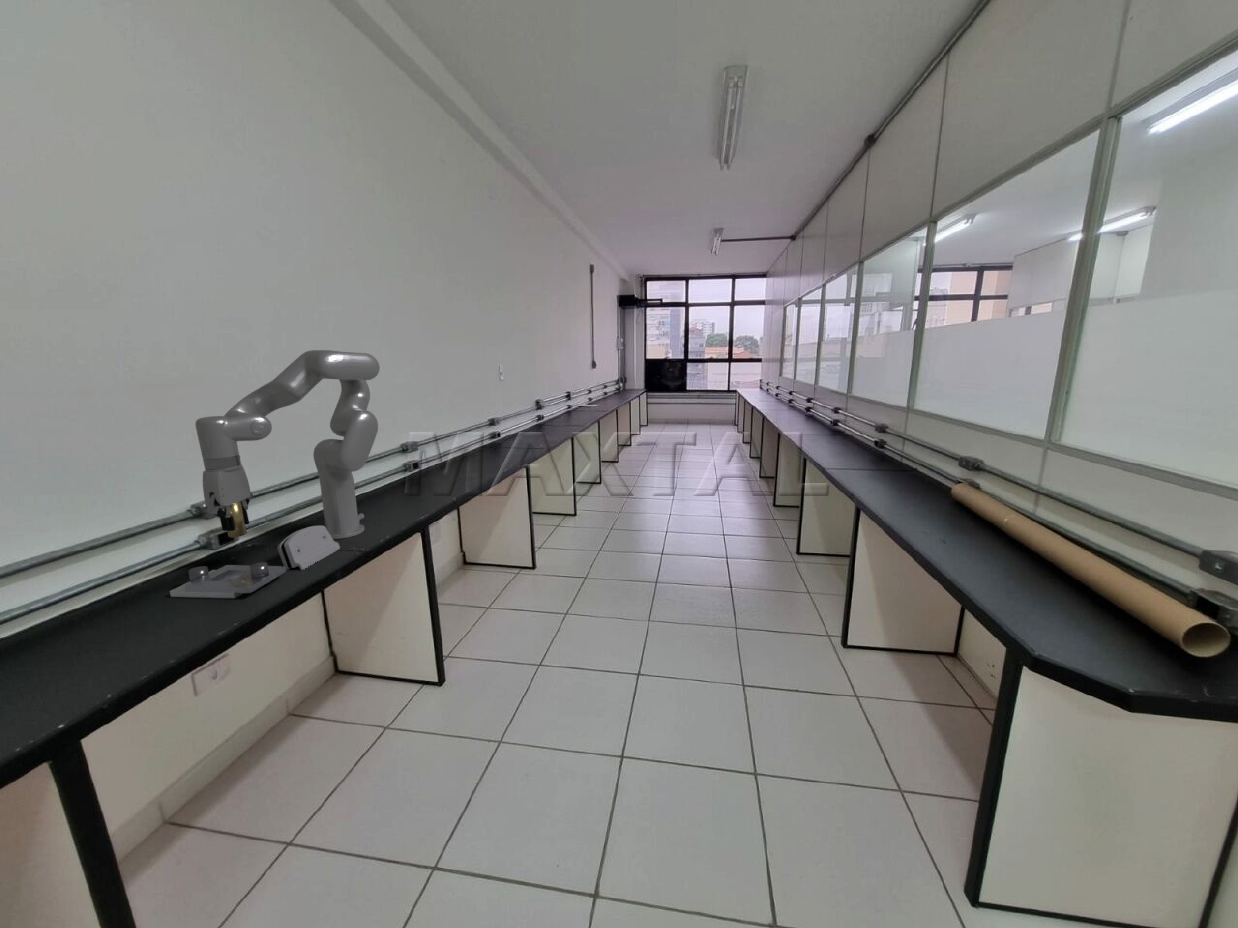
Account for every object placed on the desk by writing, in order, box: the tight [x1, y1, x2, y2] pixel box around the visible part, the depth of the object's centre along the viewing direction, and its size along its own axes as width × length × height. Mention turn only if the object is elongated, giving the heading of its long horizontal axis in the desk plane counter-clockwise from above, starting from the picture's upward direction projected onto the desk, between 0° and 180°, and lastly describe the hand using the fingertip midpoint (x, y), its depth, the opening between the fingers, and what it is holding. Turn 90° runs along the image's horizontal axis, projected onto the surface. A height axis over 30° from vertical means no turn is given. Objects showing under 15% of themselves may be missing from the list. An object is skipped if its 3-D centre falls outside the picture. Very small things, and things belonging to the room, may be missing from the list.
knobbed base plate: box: [169, 561, 287, 599], centre depth 120 cm, size 12×20×6 cm, turn 88°
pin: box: [222, 501, 247, 538], centre depth 130 cm, size 4×4×10 cm
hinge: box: [277, 525, 341, 571], centre depth 138 cm, size 17×5×10 cm, turn 175°
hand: (236, 526), depth 131 cm, fingers closed on pin, 4 cm apart
